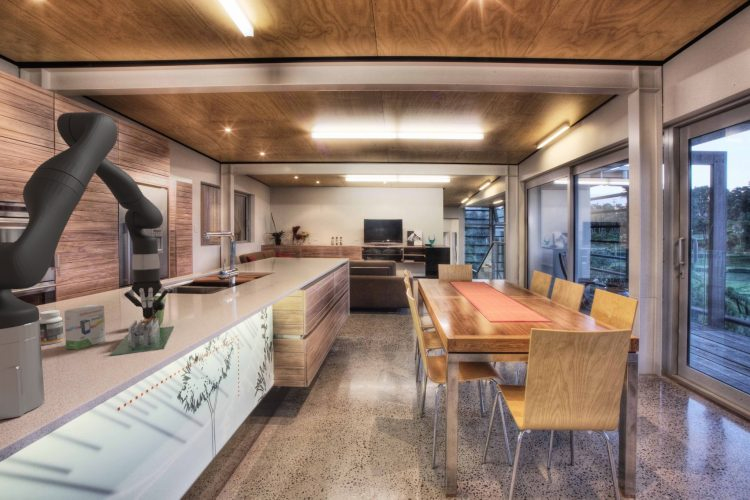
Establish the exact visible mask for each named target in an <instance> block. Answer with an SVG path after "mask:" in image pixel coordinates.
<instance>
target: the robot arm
mask: <svg viewBox="0 0 750 500" xmlns="http://www.w3.org/2000/svg"><path fill="white" fill-rule="evenodd" d="M56 128H57V130H58V134H59V136H60V137H61V139H62V140H63V142H65V144H66V145H67V146H68V147H69V148H67V149H65V150H62V152H58V154H56V155H53V156H52V157H50V158H49V159H47V160H45V161H44V162H42V163H41V164H40V165H38V167H37V168H36V169H35V170H34V171H33V173H32V175H31V176H30V178H29V179H28V180H27V181H26V183H25V185H24V187H23V188H22V189H23V191H22V198H23V202H24V205H25V208H26V211H27V214H28V222H27V224H26V226H25V228H24V230H23V231H22V233H21V234H20V235H19V237H18V238H17V239H16V240H15V241H12V242H11V241H10V242H9V241H7V242H6V241H5V242H3V241H2V242H0V420H6V419H11V418H18V417H21V416H23V415H25V413H29V412H30V411H33V410H34V409H36V408H39V407H40V406H42V405H43V404H44V402H45V399H46V398H45V383H44V371H43V357H42V356H43V355H42V353H43V352H42V345H41V337H40V310H39V308H38V306H37V305H35V304H33V303H29V302H26V301H24V300H22V299H19V298H18V297H17V296H15V295H14V294H13V291H12V290H24V289H30V288H33V287H36V286H37V285H38V284H39V283H41V281H42V280H43V279H44V277H46V275H47V273H48V270H49V269H50V266H51V263H52V261H53V260H54V259H53V258H54V256H55V253H56V251H57V248H58V245H59V242H60V239H61V237H62V235H63V232H64V231H65V229H66V227H67V224H68V223H69V220H70V219H71V217H72V214H73V213H74V211H75V209H76V208H77V206H78V204H79V203H80V201H81V200H82V197H84V196H83V195H84V194H85V191H86V190H87V187H88V185H89V183H90V182H91V180H92V178H93V177H94V176H95V175H96V176H97V177H98V178H100V180H101V181H102V182H103V183H104V185H106V187H107V188H108V190H109V191H110V192H111V194H112V196H114V199H116V201H117V202H118V204H119V205H120V206H121V207H122V208H123V209H125V210H127V211H126V212H125V215H124V223H125V226H126V229H127V231H128V234H129V237H130V240H131V243H132V245H131V246H132V261H131V262H132V282H133V283H132V286H131V289H130V290H128V291H126V292H125V293H124V297H125V298H127V299H128V300H129V302H131V303H132V304H133V305H134V306H135V307H136V308H139V307H140V308H141V309H142V316H143V318H144V317H145V319H149V318H151V317H152V316H153V314H154V313H153V306H155V305H158V304H159V303H160V301H161V300H162V299H163V298H164V297H166V295H167V294H168V293H169V291H170V290H169V289H168V288H166V287H163V285H162V282H161V273H160V271H161V270H160V266H161V264H160V258H159V243H158V238H156V237H155V236H152V235H147V234H146V233H145V231H144V230H154V229H155V230H156V229H159V228H160V227H161V226H162V225H163V223H164V218H163V214H162V212H161V210H160V209H159V208H158V207H157V206H156V205H155V204H154V203H153V202H152V201H151V200H150V199H148V198H147V197H146V196H145V194H143V192H142V190H141V189H140V187H139V186H138V184H137V182H136V180H135V179H134V178H133V177H132V176H131V175H130V174H129V173H127V172H126V171H124V170H123V169H122V168H120V167H119V166H117V164H115V163H113V162H112V161H110V160H109V158H107V156H108V155H109V153H111V151H112V150H113V149H114V147H115V145H116V143H117V141H118V136H119V135H118V131H119V130H118V126H117V124H116V121H114V119H113V118H112V117H111V116H109V115H108V114H105V113H102V112H95V111H78V112H65V113H62V114H60V115H59V116H58V118H57V120H56ZM157 293H160V294H161V296H160V297H159V298H158V299H157V300H156V301H155V302H154V296H155V295H156V294H157ZM135 295H136V296H138V297H139V298H140V299H138V298H137V297H136V296H135ZM147 297H148V303H147Z"/></svg>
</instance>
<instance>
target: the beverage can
mask: <svg viewBox="0 0 750 500" xmlns="http://www.w3.org/2000/svg"><path fill="white" fill-rule="evenodd" d="M160 296H161V294H160V292H158V293H157V294H156V295H155V296H154V302H155V301H156V300H157V299H158V298H159V297H160ZM166 300H167V298H166V296H165V297H164V298H163V299H162V300H161V301H160V303H159V304H158V305H155V306H153V313H156V318H158V322H159V326H161V325H162V324H163V322H164V315H165V310H166V309H165V307H166V302H167V301H166ZM147 303H148V297H147ZM144 319H145V317H143V320H144Z"/></svg>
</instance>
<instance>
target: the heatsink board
mask: <svg viewBox="0 0 750 500" xmlns="http://www.w3.org/2000/svg"><path fill="white" fill-rule="evenodd" d="M151 318H156V313H154V314H153V316H152V317H151ZM142 321H143V319H140V320H139V321H137V320H134V321H133V322H132V323H131V324H130V325H129V326H128V327H127V328H128V334H127V335H126V336H125V337H124V338H123V339H122V340H121V342H120V343H119V344H117V346H116V347H115V348H114V350H113V351H112V352H111V353H110V356H111V357H112V356H119V355H126V354H134V353H135V354H136V353H141V352H142V353H144V352H150V351H158V350H164V349H165V348H166V347H167V346H166V345H167V343H168V340H169V339H170V336H171V334H172V333H173V331H174V328H175V326H174V325H172V326H162V327H161V325H159V322H158V318H157V319H156V320H155V321H154V322H153V319H151V320H150V321H149V323H148V324H147V325H146V330H144V331H143V335H142V336H135V333H137V332H138V331H139V330H140V329H141V327H142V326H143V325H144V324H142Z"/></svg>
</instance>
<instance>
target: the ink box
mask: <svg viewBox="0 0 750 500" xmlns="http://www.w3.org/2000/svg"><path fill="white" fill-rule="evenodd" d="M63 315H64V331H65V332H64V333H65V335H64V337H65V349H66V350H67V349H69V350H70V349H71V350H77V351H78V350H82V349H85V348H87V347H90V346H93V345H97V344H100V343H102V342H105V341H106V338H107V337H106V323H105V320H106V319H105V306H104V305H100V304H99V305H97V304H89V305H83V306H79V307H73V308H68V309H65V310H64V314H63Z"/></svg>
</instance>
